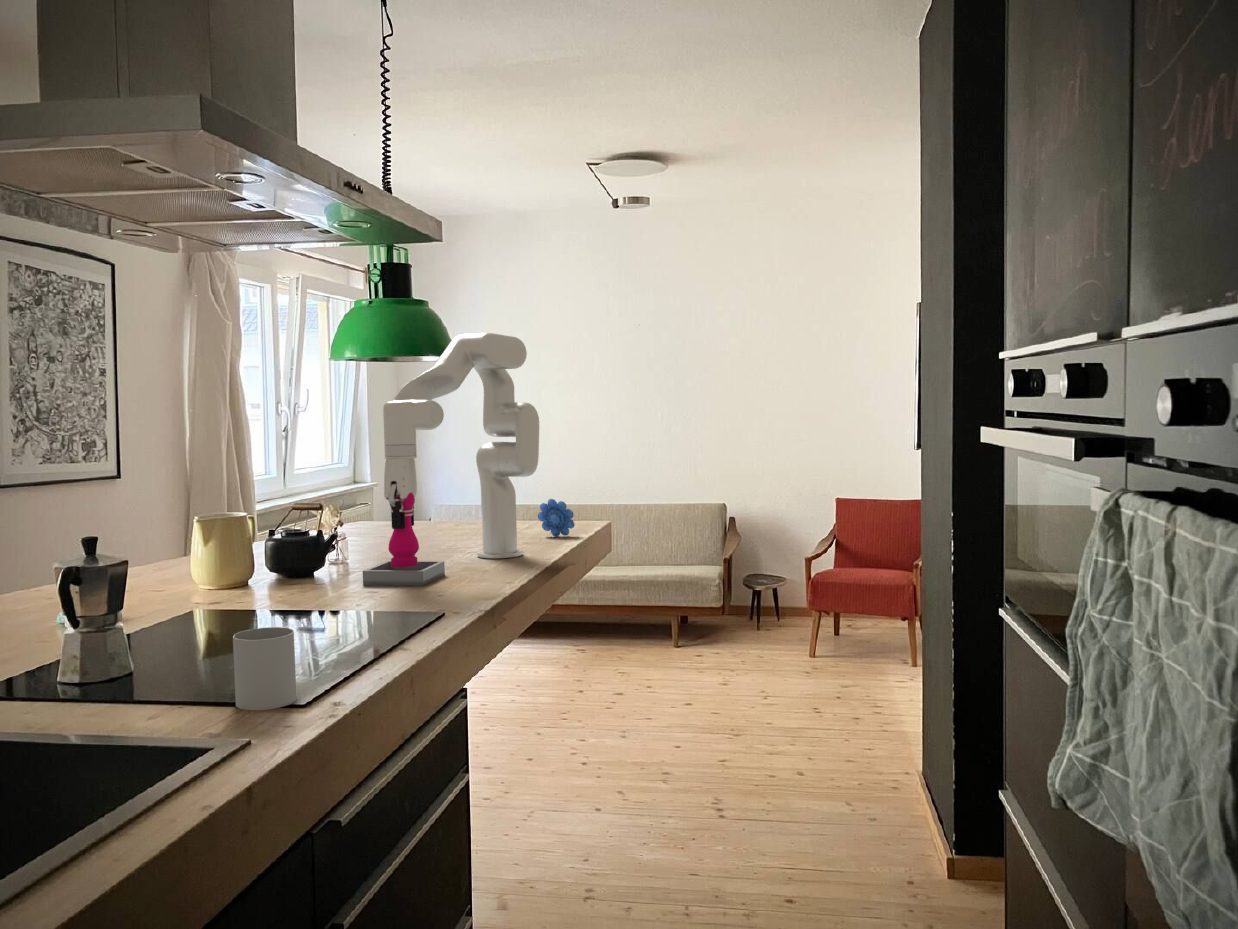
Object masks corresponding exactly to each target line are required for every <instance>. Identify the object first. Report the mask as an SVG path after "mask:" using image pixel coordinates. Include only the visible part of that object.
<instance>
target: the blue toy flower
mask: <svg viewBox="0 0 1238 929" xmlns="http://www.w3.org/2000/svg"><path fill="white" fill-rule="evenodd" d="M567 507H568V506H567V504H566V503H565V501H562V500H560V501H558V502H557V500H555V499H553V498H549V499H548V500H547V503H546V502H541V504H540V505H539V509H540V511H541V512H538V514H537V519H538V520H539V522H542V523H541V527H542V530H544V531H545V532H550V534H551V535H552V536H553V537H556V536H557V537H559V536H560V535H562V536H568V535H569V534H570V529H571V530H572V529H573V528H575V522H574V520H573V518H574V517H575V516H574V512H573V510H571V509H569V508H567Z"/></svg>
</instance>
